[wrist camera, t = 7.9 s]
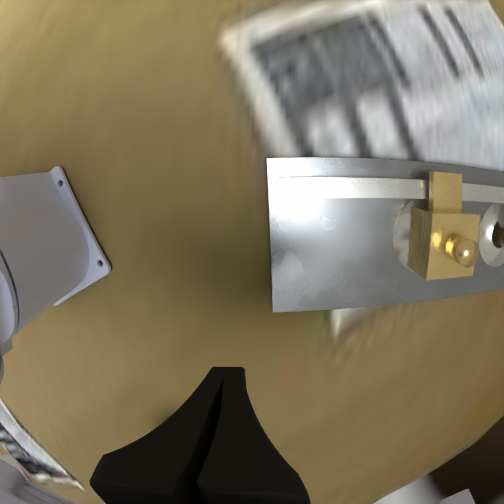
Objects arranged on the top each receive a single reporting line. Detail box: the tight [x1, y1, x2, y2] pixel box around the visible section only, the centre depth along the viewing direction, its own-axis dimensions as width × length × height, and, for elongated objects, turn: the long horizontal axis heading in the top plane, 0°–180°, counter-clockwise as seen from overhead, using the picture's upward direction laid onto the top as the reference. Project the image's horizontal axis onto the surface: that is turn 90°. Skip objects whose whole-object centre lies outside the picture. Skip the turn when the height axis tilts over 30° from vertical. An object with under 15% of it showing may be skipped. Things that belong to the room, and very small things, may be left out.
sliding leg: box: [407, 171, 480, 280], centre depth 15 cm, size 4×6×4 cm, turn 3°
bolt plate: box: [267, 157, 504, 312], centre depth 16 cm, size 22×10×7 cm, turn 93°
